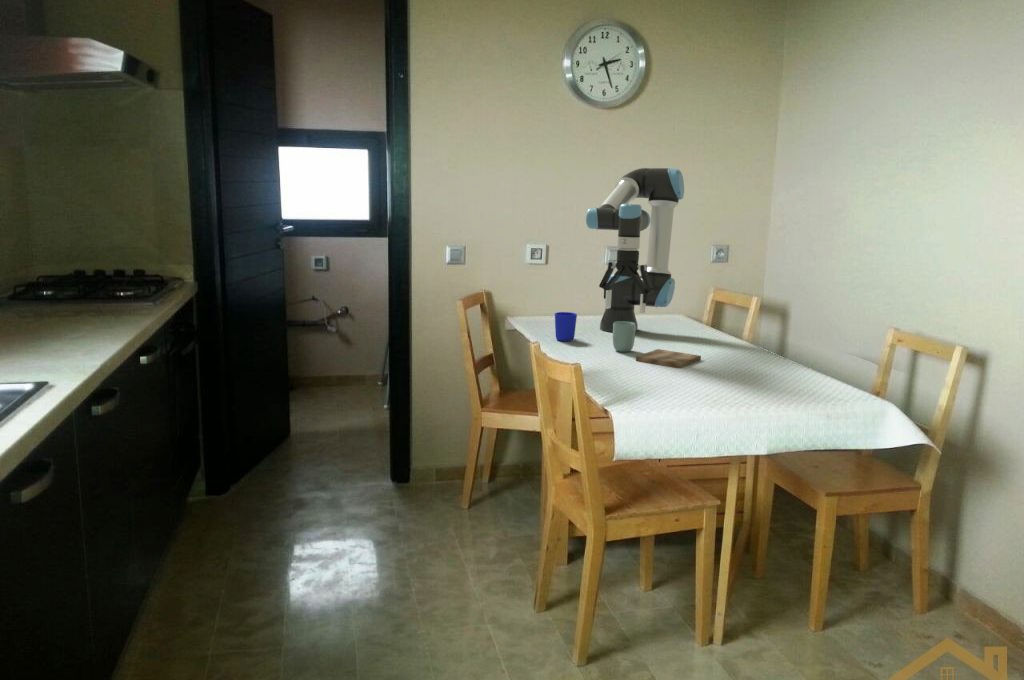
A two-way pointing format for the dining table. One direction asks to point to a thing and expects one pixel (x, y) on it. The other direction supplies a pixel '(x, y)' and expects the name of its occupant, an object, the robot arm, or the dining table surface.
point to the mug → (565, 326)
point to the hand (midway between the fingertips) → (624, 310)
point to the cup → (623, 336)
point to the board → (668, 358)
